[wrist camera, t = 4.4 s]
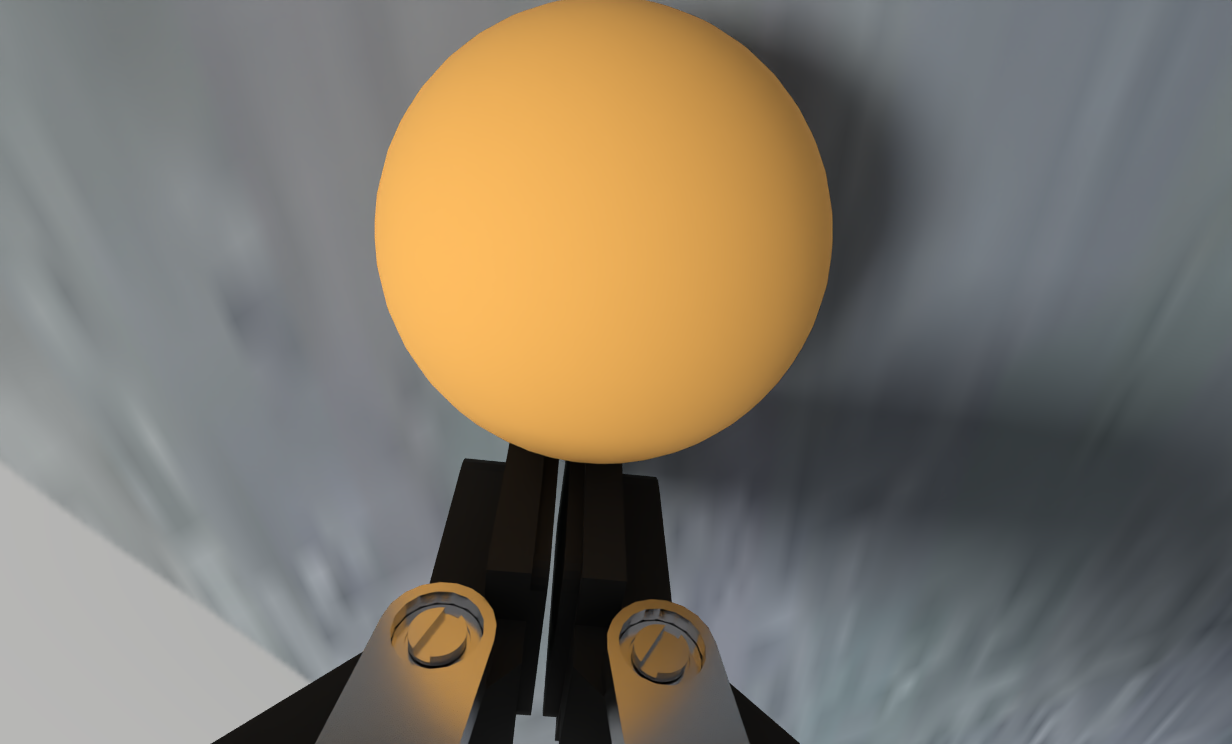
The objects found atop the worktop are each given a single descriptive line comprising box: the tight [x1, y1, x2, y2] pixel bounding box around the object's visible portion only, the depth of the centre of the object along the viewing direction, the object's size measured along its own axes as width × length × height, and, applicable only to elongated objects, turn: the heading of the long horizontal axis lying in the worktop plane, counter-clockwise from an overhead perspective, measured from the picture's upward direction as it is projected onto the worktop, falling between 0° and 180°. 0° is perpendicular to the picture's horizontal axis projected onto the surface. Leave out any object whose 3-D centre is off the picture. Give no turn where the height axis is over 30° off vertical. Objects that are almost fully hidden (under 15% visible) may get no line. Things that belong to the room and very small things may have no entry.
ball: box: [375, 0, 833, 464], centre depth 9 cm, size 6×6×6 cm
